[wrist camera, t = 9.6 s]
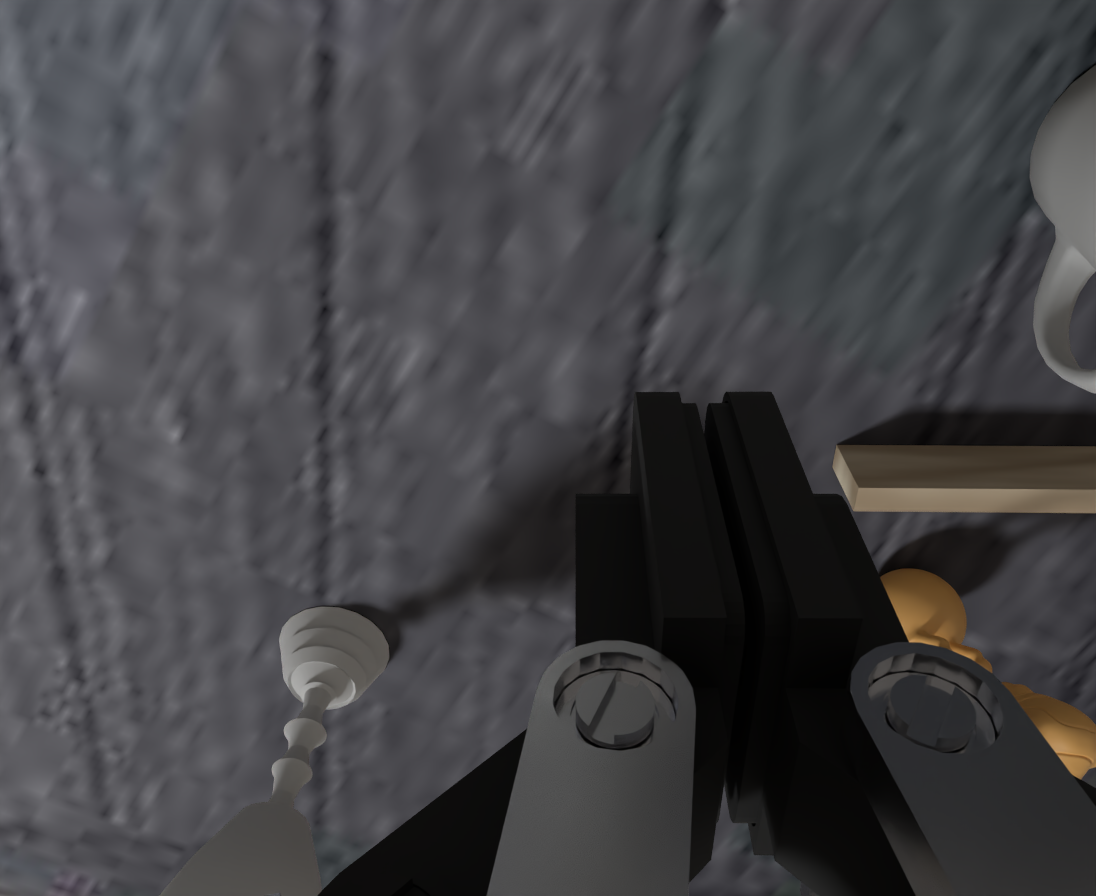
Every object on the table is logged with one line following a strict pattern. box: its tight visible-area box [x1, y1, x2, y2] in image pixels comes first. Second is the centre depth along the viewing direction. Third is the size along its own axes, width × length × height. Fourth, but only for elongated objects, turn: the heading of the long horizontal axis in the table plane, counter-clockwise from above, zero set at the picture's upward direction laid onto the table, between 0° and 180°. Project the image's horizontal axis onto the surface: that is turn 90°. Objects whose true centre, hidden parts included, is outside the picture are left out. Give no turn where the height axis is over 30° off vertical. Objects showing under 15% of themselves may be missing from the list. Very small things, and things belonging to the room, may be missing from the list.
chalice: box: [159, 607, 389, 896], centre depth 31 cm, size 7×7×18 cm
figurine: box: [880, 568, 1096, 780], centre depth 31 cm, size 8×6×12 cm
